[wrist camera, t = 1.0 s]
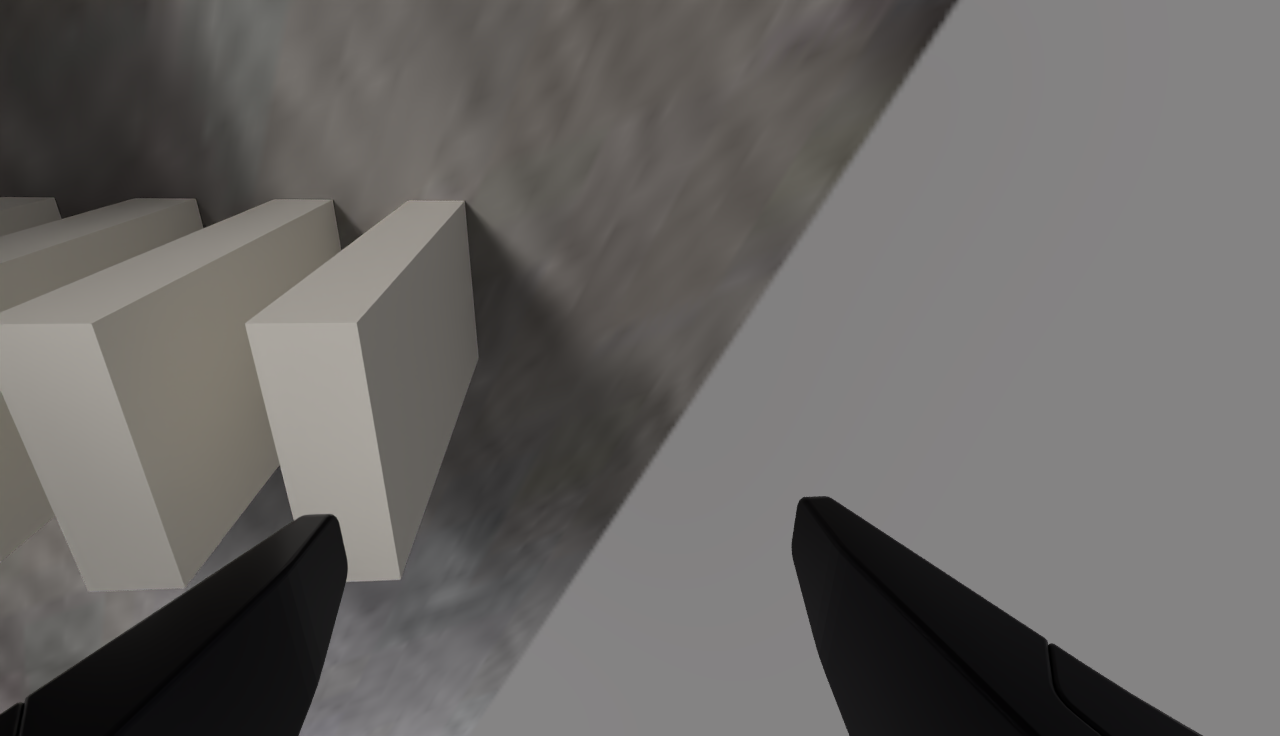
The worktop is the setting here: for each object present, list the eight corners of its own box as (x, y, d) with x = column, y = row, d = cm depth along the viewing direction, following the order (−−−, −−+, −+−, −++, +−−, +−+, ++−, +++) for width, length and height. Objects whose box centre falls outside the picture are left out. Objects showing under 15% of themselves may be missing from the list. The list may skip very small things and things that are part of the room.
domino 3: (427, 358, 21) (308, 583, 12) (407, 200, 19) (242, 323, 9) (478, 358, 21) (400, 579, 12) (464, 200, 19) (356, 322, 10)
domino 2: (306, 360, 20) (86, 591, 11) (273, 199, 18) (-31, 324, 9) (360, 359, 20) (185, 588, 11) (332, 199, 18) (91, 323, 9)
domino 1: (183, 361, 20) (-146, 602, 11) (134, 197, 18) (-324, 328, 9) (238, 361, 20) (-43, 598, 11) (196, 198, 18) (-193, 327, 9)
